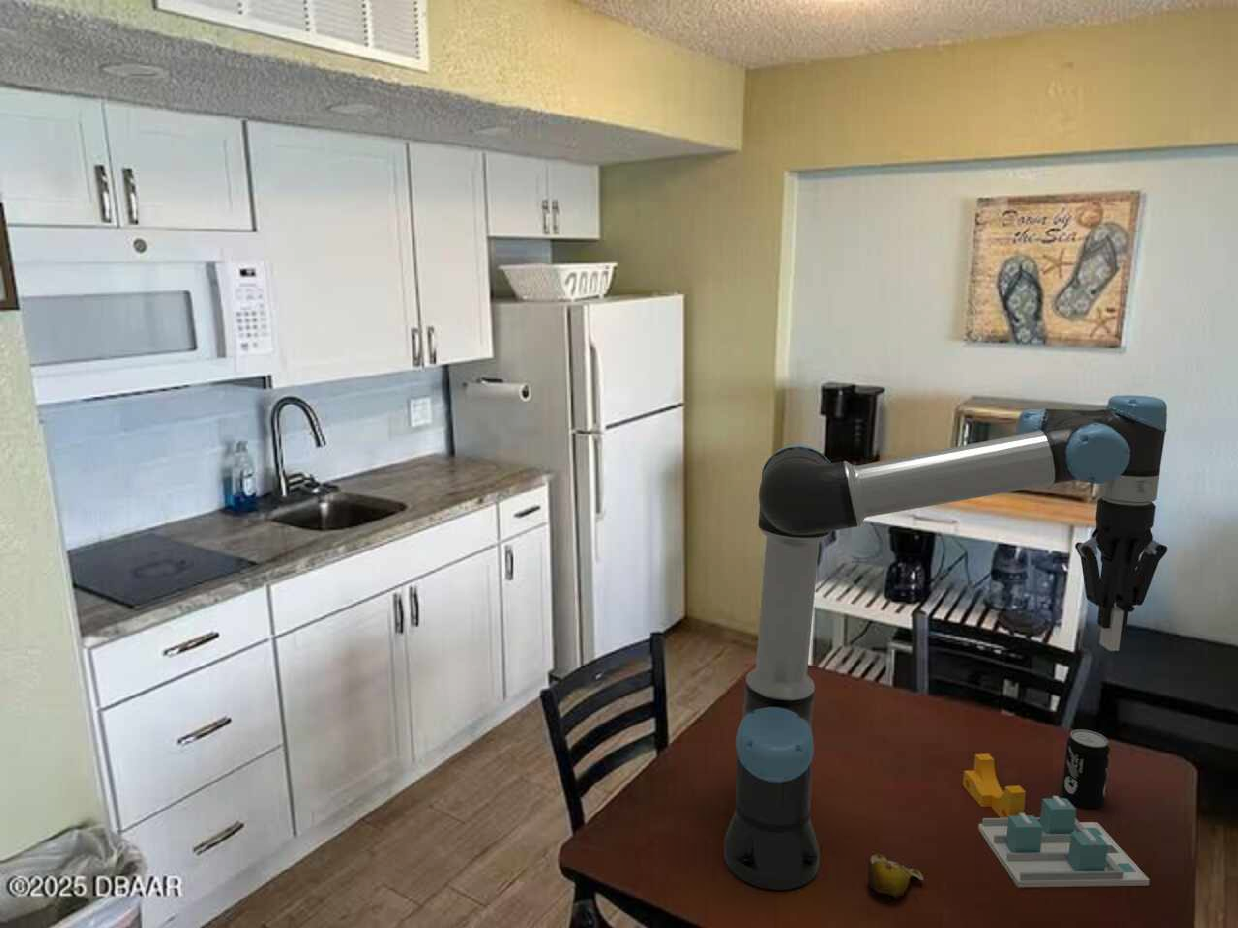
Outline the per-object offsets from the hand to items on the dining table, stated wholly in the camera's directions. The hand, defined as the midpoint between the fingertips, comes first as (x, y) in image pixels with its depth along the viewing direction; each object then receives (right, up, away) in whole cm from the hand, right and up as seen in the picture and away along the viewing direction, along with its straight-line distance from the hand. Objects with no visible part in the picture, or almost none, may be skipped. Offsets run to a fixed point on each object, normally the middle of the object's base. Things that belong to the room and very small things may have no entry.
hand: (1109, 646), depth 129 cm
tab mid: (-12, -33, +4) cm, 35 cm away
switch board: (-6, -34, +4) cm, 35 cm away
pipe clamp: (-10, -32, +17) cm, 38 cm away
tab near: (-4, -34, -1) cm, 34 cm away
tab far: (-4, -32, +8) cm, 33 cm away
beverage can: (+6, -31, +19) cm, 37 cm away
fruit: (-33, -37, +2) cm, 50 cm away
